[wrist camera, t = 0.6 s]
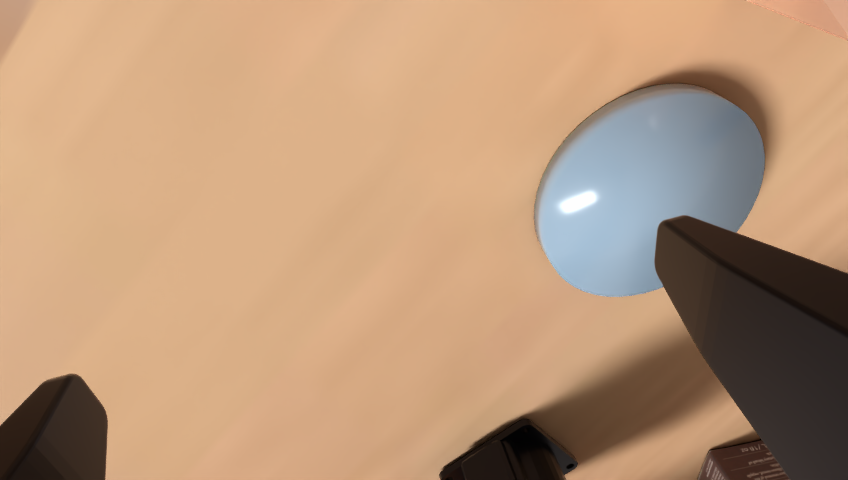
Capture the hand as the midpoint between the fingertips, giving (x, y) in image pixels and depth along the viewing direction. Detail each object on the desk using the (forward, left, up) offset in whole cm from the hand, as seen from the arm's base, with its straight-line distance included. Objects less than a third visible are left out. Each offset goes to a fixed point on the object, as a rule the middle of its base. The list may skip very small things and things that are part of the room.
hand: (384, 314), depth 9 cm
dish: (-14, -6, -14) cm, 21 cm away
